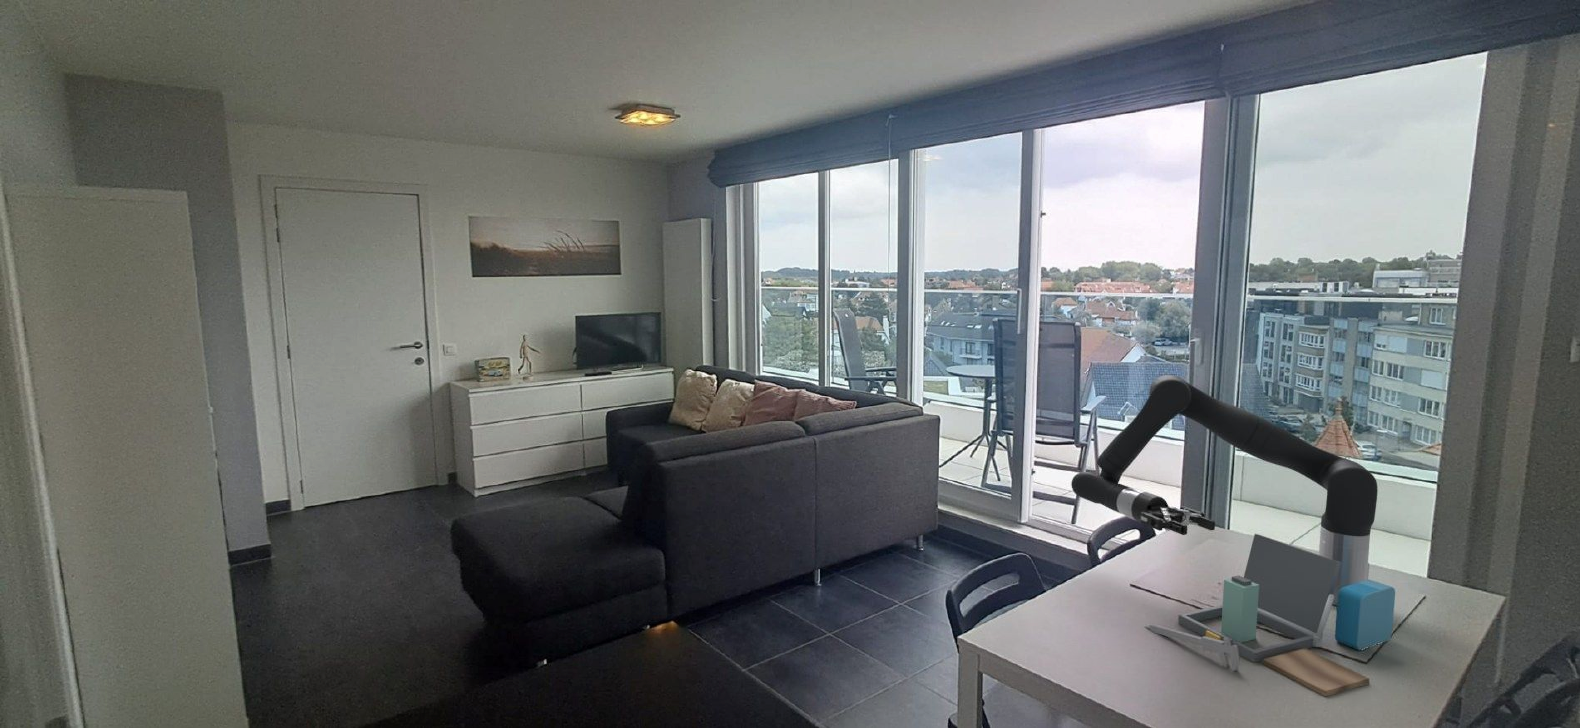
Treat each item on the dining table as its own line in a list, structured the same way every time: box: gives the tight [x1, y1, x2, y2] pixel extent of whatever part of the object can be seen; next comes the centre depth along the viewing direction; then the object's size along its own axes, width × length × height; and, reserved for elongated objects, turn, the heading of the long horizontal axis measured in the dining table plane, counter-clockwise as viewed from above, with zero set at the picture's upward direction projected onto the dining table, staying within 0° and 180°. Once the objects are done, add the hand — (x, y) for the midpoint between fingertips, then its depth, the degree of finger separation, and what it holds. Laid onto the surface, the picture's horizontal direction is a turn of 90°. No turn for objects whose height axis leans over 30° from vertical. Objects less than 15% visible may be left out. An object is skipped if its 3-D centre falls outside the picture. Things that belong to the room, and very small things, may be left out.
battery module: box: [1220, 575, 1259, 644], centre depth 153 cm, size 4×4×13 cm
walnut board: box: [1262, 648, 1370, 697], centre depth 139 cm, size 12×12×1 cm
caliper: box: [1144, 623, 1240, 672], centre depth 149 cm, size 20×1×6 cm, turn 25°
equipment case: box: [1177, 533, 1341, 663], centre depth 154 cm, size 24×19×18 cm
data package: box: [1334, 579, 1396, 651], centre depth 150 cm, size 12×4×12 cm, turn 114°
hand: (1200, 528), depth 161 cm, fingers open, 8 cm apart
